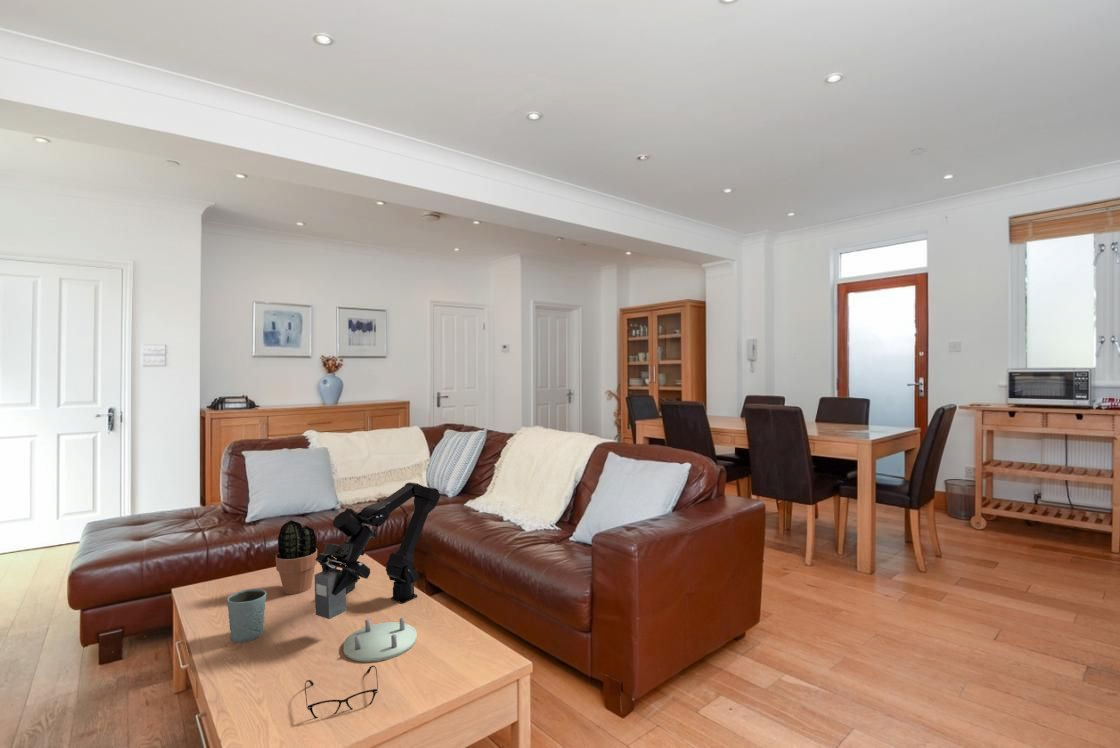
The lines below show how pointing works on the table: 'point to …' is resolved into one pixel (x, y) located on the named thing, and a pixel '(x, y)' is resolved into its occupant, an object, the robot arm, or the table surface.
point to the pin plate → (380, 641)
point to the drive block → (329, 594)
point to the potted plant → (296, 557)
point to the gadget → (351, 586)
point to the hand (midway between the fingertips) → (326, 592)
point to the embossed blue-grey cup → (246, 614)
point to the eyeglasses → (341, 700)
